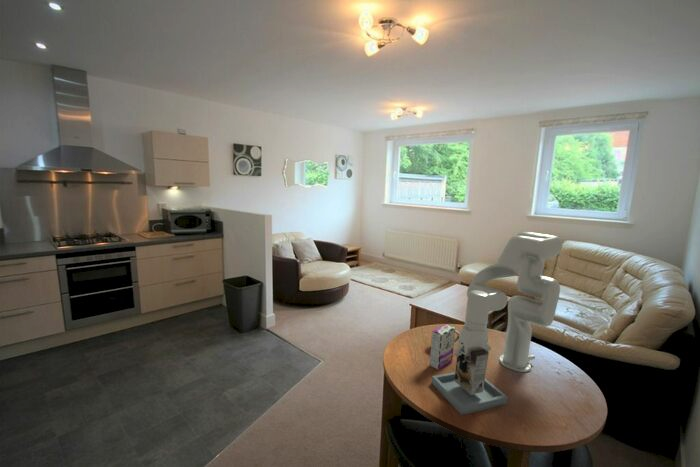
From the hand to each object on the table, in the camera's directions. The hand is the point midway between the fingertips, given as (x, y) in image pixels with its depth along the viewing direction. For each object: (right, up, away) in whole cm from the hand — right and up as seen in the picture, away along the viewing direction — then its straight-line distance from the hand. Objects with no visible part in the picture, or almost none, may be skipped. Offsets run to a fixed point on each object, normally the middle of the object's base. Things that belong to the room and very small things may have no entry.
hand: (470, 368), depth 117 cm
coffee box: (0, -7, +1) cm, 7 cm away
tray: (-1, -10, +2) cm, 10 cm away
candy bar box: (-5, -7, +21) cm, 23 cm away
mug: (+1, -5, +34) cm, 35 cm away
